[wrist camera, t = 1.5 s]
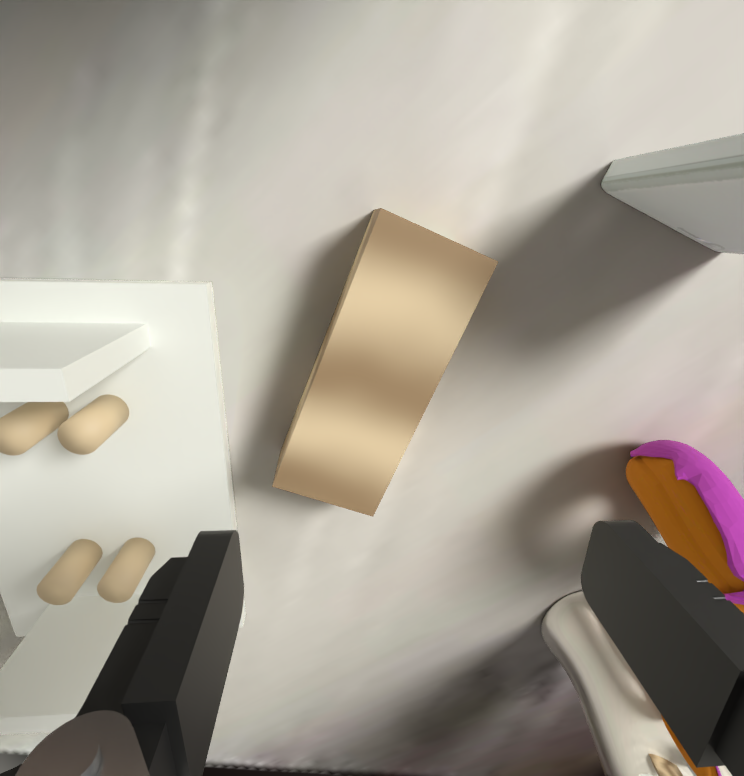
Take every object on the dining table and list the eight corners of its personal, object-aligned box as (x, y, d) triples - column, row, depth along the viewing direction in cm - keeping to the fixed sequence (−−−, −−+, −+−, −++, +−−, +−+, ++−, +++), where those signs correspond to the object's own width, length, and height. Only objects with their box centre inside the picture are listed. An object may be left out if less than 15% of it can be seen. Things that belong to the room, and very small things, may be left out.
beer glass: (515, 638, 32) (653, 959, 18) (573, 571, 30) (777, 873, 16) (587, 665, 34) (763, 978, 20) (646, 603, 32) (888, 902, 18)
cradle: (-93, 276, 20) (-340, 307, 13) (212, 281, 22) (145, 313, 14) (26, 623, 28) (-85, 766, 21) (245, 614, 29) (214, 747, 22)
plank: (373, 210, 21) (381, 208, 18) (471, 254, 22) (498, 261, 19) (281, 447, 26) (272, 486, 22) (367, 475, 27) (372, 516, 23)
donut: (723, 409, 26) (934, 510, 17) (691, 533, 30) (852, 674, 20) (597, 419, 26) (742, 528, 17) (579, 543, 29) (691, 693, 20)
